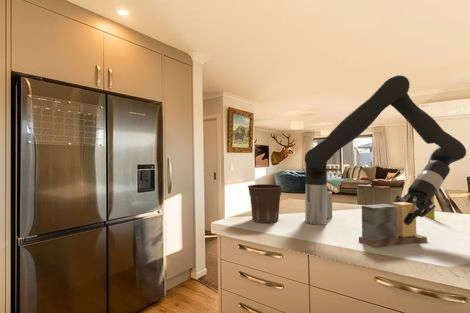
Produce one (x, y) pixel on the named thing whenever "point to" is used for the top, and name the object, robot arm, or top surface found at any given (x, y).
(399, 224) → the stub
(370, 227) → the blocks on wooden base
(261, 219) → the plant pot
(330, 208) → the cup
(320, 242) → the top surface
